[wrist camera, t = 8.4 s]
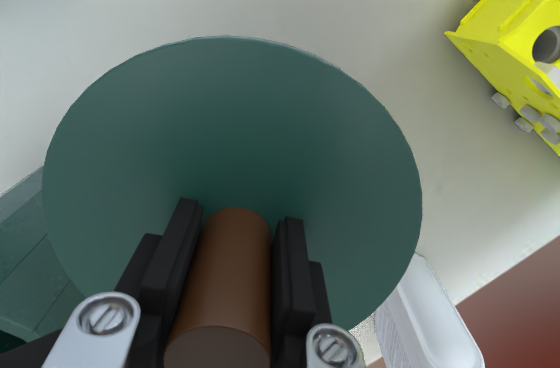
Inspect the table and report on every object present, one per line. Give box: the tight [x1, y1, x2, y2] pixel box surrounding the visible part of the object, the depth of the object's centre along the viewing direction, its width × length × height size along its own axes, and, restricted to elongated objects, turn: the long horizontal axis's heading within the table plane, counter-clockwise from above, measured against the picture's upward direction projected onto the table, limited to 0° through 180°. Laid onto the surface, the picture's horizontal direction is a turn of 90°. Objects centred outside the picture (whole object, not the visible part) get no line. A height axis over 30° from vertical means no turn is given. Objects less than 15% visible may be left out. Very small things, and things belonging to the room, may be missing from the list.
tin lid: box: [41, 36, 422, 368], centre depth 11 cm, size 13×13×6 cm
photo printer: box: [375, 253, 485, 368], centre depth 28 cm, size 10×4×12 cm, turn 3°
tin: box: [0, 166, 87, 354], centre depth 23 cm, size 12×12×14 cm
